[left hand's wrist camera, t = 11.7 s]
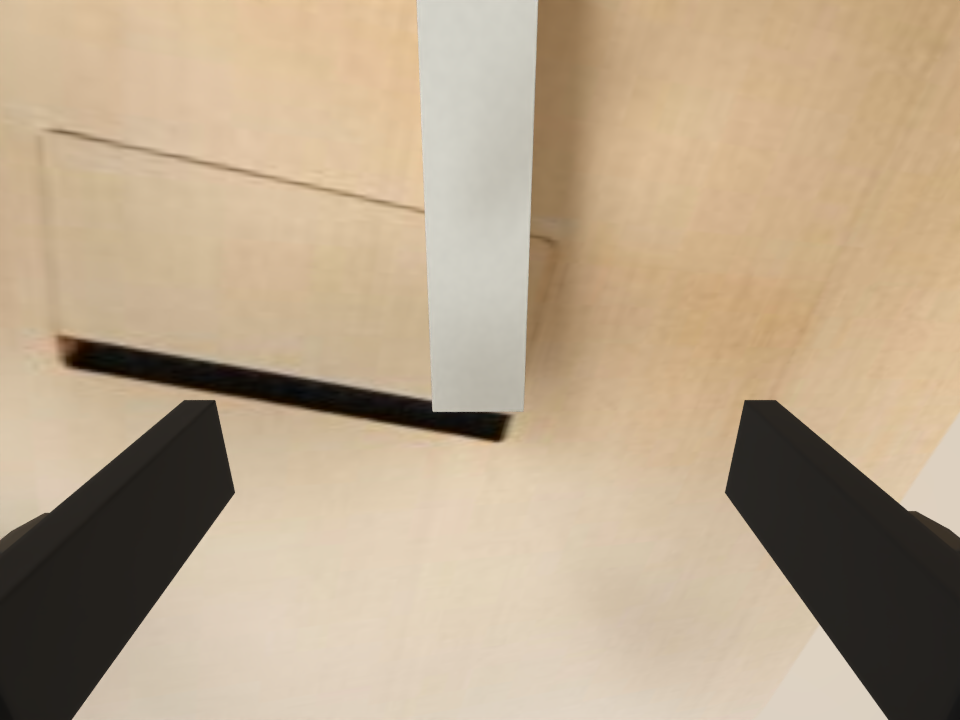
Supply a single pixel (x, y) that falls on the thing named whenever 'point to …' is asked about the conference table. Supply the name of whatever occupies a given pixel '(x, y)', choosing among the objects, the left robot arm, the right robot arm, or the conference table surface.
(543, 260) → the conference table surface
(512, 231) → the post
